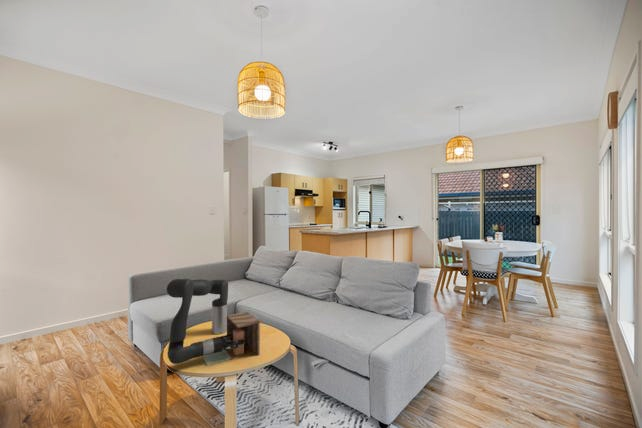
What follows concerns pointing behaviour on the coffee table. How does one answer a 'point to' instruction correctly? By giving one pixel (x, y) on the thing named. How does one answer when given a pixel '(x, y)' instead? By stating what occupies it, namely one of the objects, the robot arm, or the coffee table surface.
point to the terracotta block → (237, 336)
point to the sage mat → (216, 357)
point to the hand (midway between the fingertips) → (242, 338)
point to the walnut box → (246, 329)
